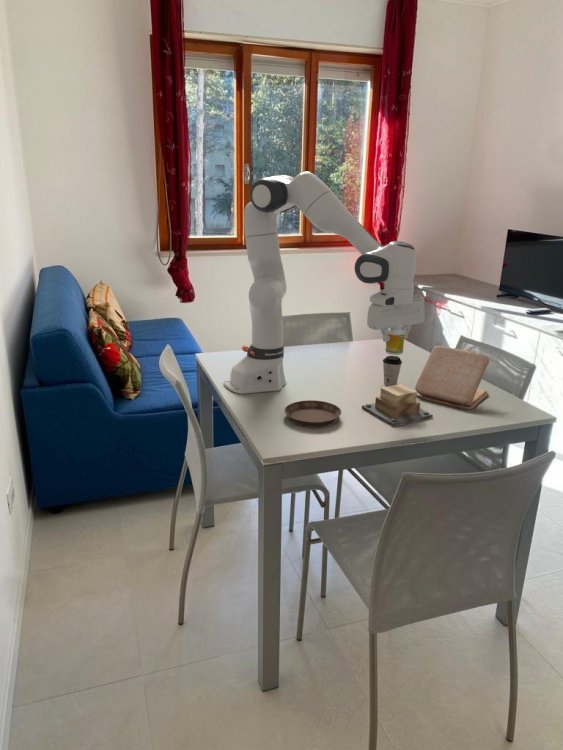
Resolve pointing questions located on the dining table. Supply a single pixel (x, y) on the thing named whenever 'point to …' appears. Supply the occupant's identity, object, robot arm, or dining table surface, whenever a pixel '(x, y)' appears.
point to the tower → (397, 406)
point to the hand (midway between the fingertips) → (395, 340)
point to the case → (453, 377)
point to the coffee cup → (391, 369)
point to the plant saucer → (312, 413)
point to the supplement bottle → (395, 340)
